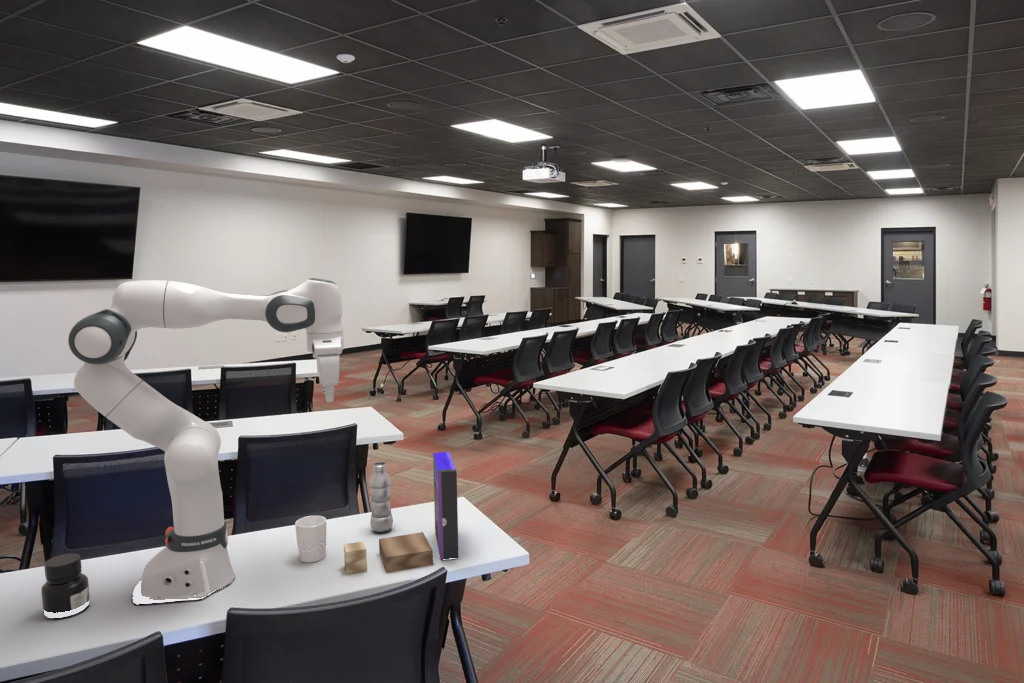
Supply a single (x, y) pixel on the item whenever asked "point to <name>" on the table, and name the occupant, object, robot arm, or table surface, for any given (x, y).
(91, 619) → the table surface
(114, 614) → the table surface
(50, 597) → the ink bottle
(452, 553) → the cereal box
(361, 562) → the maple block
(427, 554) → the walnut base
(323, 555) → the white cup
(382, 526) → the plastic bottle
